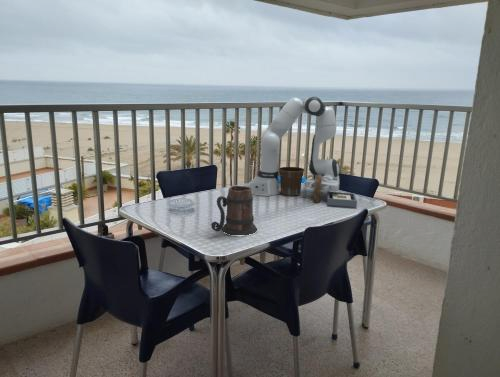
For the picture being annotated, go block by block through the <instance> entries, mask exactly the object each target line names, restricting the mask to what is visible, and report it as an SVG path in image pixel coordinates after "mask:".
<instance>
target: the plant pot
mask: <svg viewBox="0 0 500 377" xmlns="http://www.w3.org/2000/svg"><path fill="white" fill-rule="evenodd" d="M304 172H305V168H302V167H298V166H297V167H296V166H282V167H278V173H279V176H280V181H281V188H280V194H281V195H284V196H288V197H294V196H300V194H301V188H302V184H301V183H302V177H304Z"/></svg>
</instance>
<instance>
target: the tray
mask: <svg viewBox="0 0 500 377" xmlns="http://www.w3.org/2000/svg"><path fill="white" fill-rule="evenodd" d="M326 196H327V197H326V207H331V208H344V209H357V203H358V199H357V196H356V193H353V192H340V191H327V195H326Z"/></svg>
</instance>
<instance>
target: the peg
mask: <svg viewBox="0 0 500 377" xmlns="http://www.w3.org/2000/svg"><path fill="white" fill-rule="evenodd" d="M322 177H323V175H314V180H315V183H314V188H313V201H312V202H313V203H314V204H320V203H321V198H322V195H321V194H322V190H321V183H322Z"/></svg>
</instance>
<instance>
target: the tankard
mask: <svg viewBox="0 0 500 377" xmlns="http://www.w3.org/2000/svg"><path fill="white" fill-rule="evenodd" d="M253 201H254V196H253V194H252V191H251V188H250V187H248V185H247V186H246V185H245V186H244V185H233V186H230V187H229V188H228V191H227V195H226V197H225V196H223V195H221V196H218V197H217V198H216V205H217V208H218V210H219V212H220V221H219V222H217V221H213V222H211V225H210V227H211V229H212V230H213V231H214V232H222V231H223V232H225V233H227V234H230V235H249V234H253V233H255V232H256V231H257V229H258V227H256V224H254V218H255V217H254V211H253V210H254V209H253V208H254V206H253V205H254V202H253ZM223 207H224V208H225V207H226V215H225V211H224V208H223ZM223 232H222V233H223ZM257 232H258V231H257ZM257 232H256V233H257ZM256 233H255V234H256ZM227 234H226V235H227ZM230 235H229V236H230ZM253 235H254V234H253Z"/></svg>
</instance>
